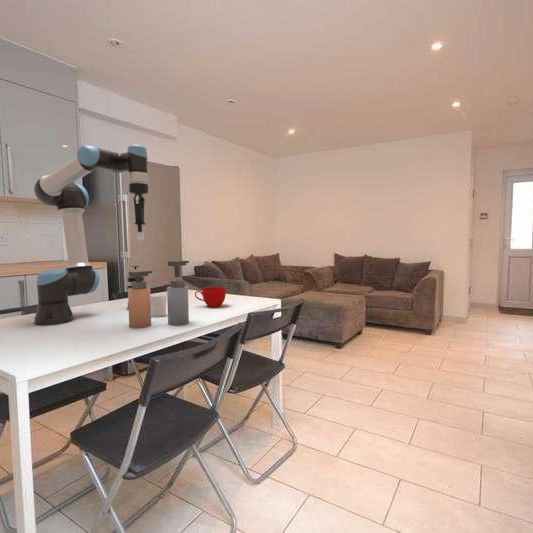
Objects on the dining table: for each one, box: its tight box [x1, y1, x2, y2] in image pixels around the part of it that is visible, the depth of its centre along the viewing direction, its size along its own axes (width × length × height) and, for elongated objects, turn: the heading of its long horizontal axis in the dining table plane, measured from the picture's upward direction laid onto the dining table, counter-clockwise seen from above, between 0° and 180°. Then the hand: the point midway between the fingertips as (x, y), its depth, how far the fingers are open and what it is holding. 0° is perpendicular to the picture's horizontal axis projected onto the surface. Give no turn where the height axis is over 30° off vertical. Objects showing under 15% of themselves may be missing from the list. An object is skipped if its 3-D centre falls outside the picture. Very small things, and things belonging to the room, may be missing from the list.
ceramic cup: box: [194, 286, 227, 308], centre depth 197 cm, size 13×17×10 cm
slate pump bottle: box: [166, 279, 190, 326], centre depth 158 cm, size 9×9×19 cm
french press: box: [126, 265, 146, 311], centre depth 192 cm, size 12×9×23 cm
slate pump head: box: [167, 260, 190, 278], centre depth 158 cm, size 10×4×7 cm, turn 147°
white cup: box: [150, 293, 167, 318], centre depth 174 cm, size 8×8×10 cm
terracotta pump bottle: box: [127, 280, 152, 329], centre depth 153 cm, size 9×9×19 cm
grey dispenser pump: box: [128, 270, 153, 282], centre depth 154 cm, size 10×4×7 cm, turn 147°
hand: (140, 240), depth 152 cm, fingers closed
